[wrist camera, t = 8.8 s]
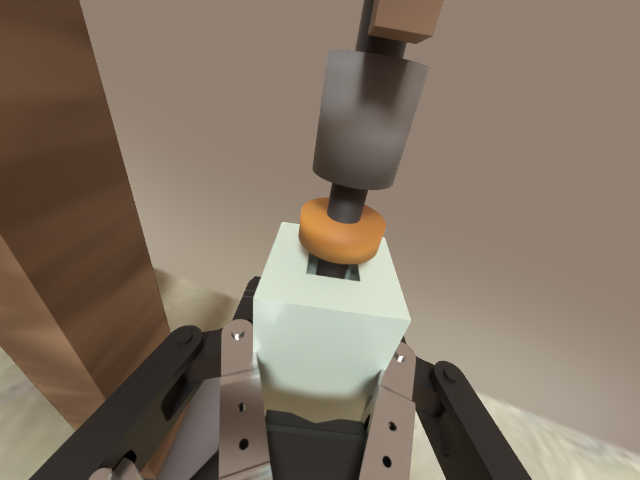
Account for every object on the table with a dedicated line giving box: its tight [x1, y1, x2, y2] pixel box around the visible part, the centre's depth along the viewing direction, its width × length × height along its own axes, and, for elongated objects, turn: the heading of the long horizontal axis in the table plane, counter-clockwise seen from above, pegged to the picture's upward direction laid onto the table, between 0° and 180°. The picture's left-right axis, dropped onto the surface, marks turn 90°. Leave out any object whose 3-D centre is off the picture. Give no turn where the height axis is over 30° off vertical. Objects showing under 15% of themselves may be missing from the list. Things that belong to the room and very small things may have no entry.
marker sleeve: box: [253, 222, 411, 423], centre depth 12 cm, size 5×5×9 cm
